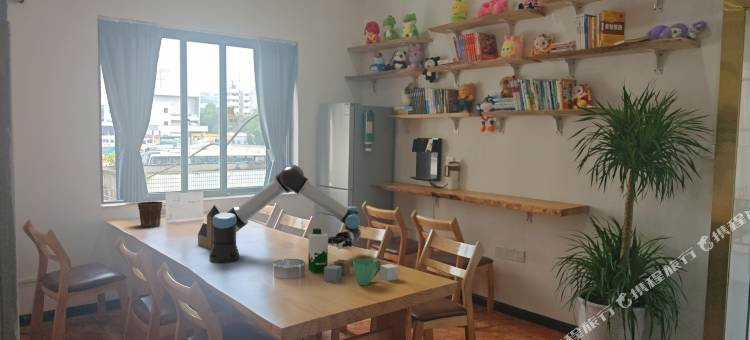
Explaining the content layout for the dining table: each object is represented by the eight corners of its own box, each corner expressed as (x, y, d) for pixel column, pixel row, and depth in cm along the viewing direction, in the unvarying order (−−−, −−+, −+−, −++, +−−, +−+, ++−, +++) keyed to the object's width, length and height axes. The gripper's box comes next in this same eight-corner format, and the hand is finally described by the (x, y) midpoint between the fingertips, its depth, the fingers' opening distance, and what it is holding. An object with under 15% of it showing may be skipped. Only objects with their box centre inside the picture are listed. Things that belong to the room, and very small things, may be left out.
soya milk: (322, 267, 266) (323, 227, 264) (329, 272, 258) (330, 230, 256) (306, 269, 262) (306, 228, 260) (312, 273, 254) (313, 232, 252)
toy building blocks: (211, 250, 299) (211, 205, 297) (197, 244, 313) (197, 202, 311) (232, 247, 307) (232, 204, 305) (218, 242, 321) (218, 200, 319)
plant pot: (132, 227, 363) (132, 203, 362) (146, 223, 379) (146, 200, 377) (154, 228, 360) (154, 204, 359) (167, 224, 376) (167, 201, 375)
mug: (363, 288, 232) (364, 265, 232) (347, 283, 239) (348, 261, 238) (386, 281, 243) (386, 259, 242) (370, 277, 250) (370, 256, 249)
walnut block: (333, 274, 254) (333, 262, 253) (338, 271, 259) (338, 259, 259) (344, 276, 251) (345, 263, 251) (350, 273, 257) (350, 260, 257)
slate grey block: (323, 280, 243) (324, 267, 243) (329, 277, 249) (329, 264, 248) (335, 282, 241) (336, 269, 240) (341, 278, 246) (341, 266, 246)
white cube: (379, 278, 250) (380, 265, 249) (390, 276, 253) (391, 263, 252) (387, 281, 245) (387, 268, 244) (397, 279, 248) (398, 266, 247)
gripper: (365, 247, 282) (349, 255, 262) (323, 242, 291) (304, 250, 271) (366, 233, 282) (349, 240, 262) (323, 229, 291) (304, 235, 271)
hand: (326, 245), depth 267 cm, fingers open, 13 cm apart
